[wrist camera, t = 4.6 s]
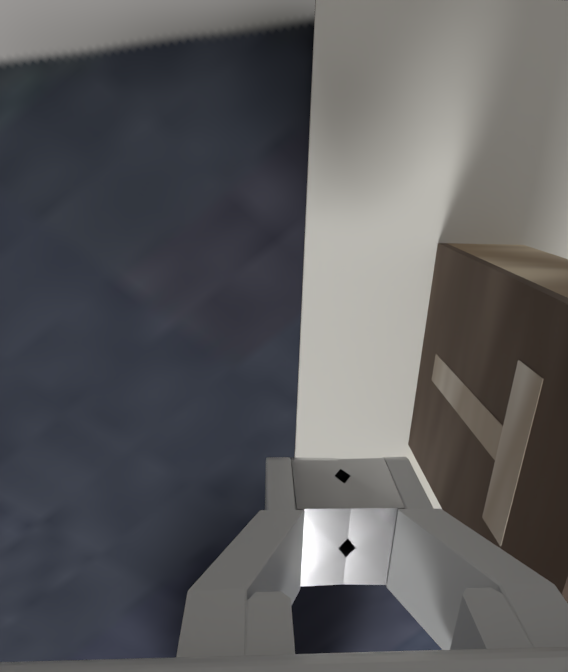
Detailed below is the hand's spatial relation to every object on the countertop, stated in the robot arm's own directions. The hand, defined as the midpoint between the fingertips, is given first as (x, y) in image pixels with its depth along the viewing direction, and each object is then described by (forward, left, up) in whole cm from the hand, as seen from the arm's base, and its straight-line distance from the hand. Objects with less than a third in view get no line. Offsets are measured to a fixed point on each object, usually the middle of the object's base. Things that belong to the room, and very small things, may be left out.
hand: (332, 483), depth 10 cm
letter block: (-6, 0, -7) cm, 9 cm away
